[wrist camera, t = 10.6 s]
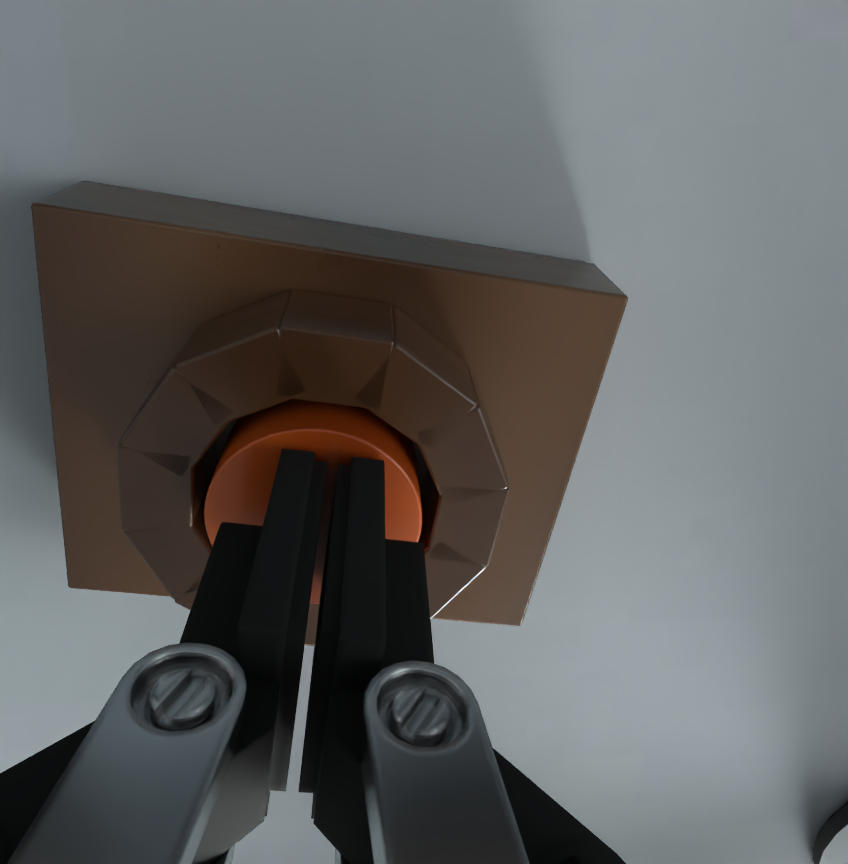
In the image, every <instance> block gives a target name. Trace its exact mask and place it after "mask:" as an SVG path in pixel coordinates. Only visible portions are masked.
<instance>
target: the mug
mask: <svg viewBox="0 0 848 864" xmlns="http://www.w3.org/2000/svg"><path fill="white" fill-rule="evenodd" d="M813 859H814V864H848V804H846V805H845V806H844V807H843V808H842V809H841V810H839V811H838V812H837V813H836V814H835V815H834V816H832V817H831V818H830V820H829V821H828V822H827V824H826V825H825V826H824V828H823V829H822V830H821V832H820V833H819V834H818V837H817V840H816V843H815V846H814V850H813Z"/></svg>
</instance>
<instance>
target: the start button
mask: <svg viewBox="0 0 848 864" xmlns="http://www.w3.org/2000/svg"><path fill="white" fill-rule="evenodd" d="M282 448H285V449H293V450H302V451H310V452H315V461H321V462H327V470H326V478H325V486H324V494H323V502H322V510H321V518H320V526H319V534H318V542H317V550H316V558H315V566H314V574H313V582H312V590H311V598H310V604H319V603H320V594H321V587H322V579H323V572H324V564H325V556H326V549H327V541H328V534H329V526H330V519H331V511H332V504H333V496H334V489H335V481H336V474H337V467H338V464H346V465H350V464H351V458H352V457H360V458H369V459H377V460H384V463H385V539H393V540H403V541H412V542H418V540H419V537H420V534H421V527H422V507H421V497H420V487H419V477H418V467H417V458H416V453H415V448H414V445H413V442H412V440H411V439H410V438H408V437H407V436H405V435H404V434H402V433H401V432H399V431H398V430H397V429H395V428H394V427H392V426H391V425H389V424H388V423H386V422H385V421H384V420H382V419H381V418H379V417H378V416H376V415H375V414H373V413H372V412H371V411H369V410H368V409H366V408H362V407H354V406H346V405H338V404H330V403H322V402H314V401H306V400H298V399H291V400H288V401H285V402H282V403H280V404H277V405H274V406H271V407H269V408H266V409H263V410H260V411H258V412H255V413H252V414H249V415H247V416H244V417H241V418H238V420H237V421H236V423H235V424H234V426H233V427H232V429H231V431H230V434H229V436H228V438H227V441H226V443H225V446H224V449H223V451H222V454H221V456H220V459H219V462H218V464H217V467H216V470H215V472H214V475H213V477H212V480H211V483H210V485H209V488H208V491H207V495H206V499H205V507H204V518H205V526H206V530H207V534H208V537H209V540H210V542H211V545H212V546H213V543H214V540H215V537H216V535H217V532H218V529H219V527H220V524H221V523H222V522H230V523H239V524H249V525H259V526H263V523H264V519H265V515H266V511H267V507H268V503H269V499H270V495H271V491H272V487H273V483H274V479H275V475H276V471H277V467H278V463H279V459H280V455H281V451H282Z"/></svg>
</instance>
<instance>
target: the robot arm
mask: <svg viewBox="0 0 848 864" xmlns="http://www.w3.org/2000/svg"><path fill="white" fill-rule="evenodd" d="M326 470H327V462H321V461H315V452H310V451H302V450H293V449H285V448H282V451H281V455H280V459H279V463H278V467H277V471H276V475H275V479H274V483H273V487H272V491H271V495H270V499H269V503H268V507H267V511H266V515H265V519H264V523H263V526H259V525H249V524H239V523H230V522H222V523H221V524H220V527H219V529H218V532H217V535H216V537H215V540H214V543H213V546H212V549H211V552H210V555H209V558H208V561H207V564H206V567H205V570H204V573H203V576H202V579H201V582H200V584H199V587H198V590H197V593H196V596H195V599H194V602H193V605H192V608H191V611H190V614H189V617H188V620H187V623H186V626H185V629H184V631H183V634H182V637H181V640H180V643H179V644H174V645H168V646H165V647H163V648H160V649H158V650H155V651H152V652H150V653H148V654H147V655H146V656H144V657H143V658H141V659H140V660H138V661H137V662H135V663H134V664H133V665H132V666H131V668H130V669H129V670H128V671H127V672H126V673H125V675H124V676H123V677H122V678H121V680H120V682H119V683H118V685H117V687H116V688H115V690H114V691H113V693H112V695H111V696H110V698H109V699H108V701H107V703H106V704H105V706H104V708H103V709H102V711H101V712H100V714H99V716H98V717H97V719H96V720H95V721H94V722H92V723H90V724H88V725H86V726H85V727H83V728H81V729H79V730H78V731H76V732H74V733H72V734H70V735H69V736H67V737H65V738H63V739H61V740H60V741H58V742H56V743H54V744H52V745H51V746H49V747H47V748H45V749H43V750H42V751H40V752H38V753H36V754H34V755H33V756H31V757H29V758H27V759H25V760H24V761H22V762H20V763H18V764H16V765H15V766H13V767H11V768H9V769H7V770H6V771H4V772H2V773H0V864H231V863H232V859H233V853H234V848H235V844H236V843H237V842H238V841H240V840H241V839H242V838H243V837H245V836H246V835H247V834H248V833H250V832H251V831H252V830H253V829H255V828H256V827H257V826H258V825H260V824H261V823H262V822H263V821H264V818H265V816H267V810H268V803H269V796H270V791H286V785H287V777H288V770H289V762H290V754H291V746H292V738H293V731H294V723H295V715H296V707H297V699H298V692H299V684H300V676H301V668H302V660H303V653H304V645H305V637H306V629H307V621H308V614H309V606H310V598H311V590H312V582H313V574H314V566H315V558H316V550H317V542H318V534H319V526H320V518H321V510H322V502H323V494H324V486H325V478H326ZM299 792H306V793H313V804H312V815H311V818H313V819H314V824H315V826H316V827H317V828H318V829H319V830H320V831H321V832H322V833H323V835H324V836H325V837H326V838H327V839H328V840H329V841H330V842H331V844H332V845H333V846H334V847H335V860H334V864H626V863H625V862H624V861H623V860H622V859H621V858H620V857H619V856H618V855H617V854H616V853H615V852H614V851H613V850H612V849H611V848H609V847H608V846H607V845H606V844H605V843H604V842H602V841H601V840H600V839H599V838H598V837H596V836H595V835H594V834H593V833H592V832H591V831H589V830H588V829H587V828H586V827H585V826H584V825H582V824H581V823H580V822H579V821H578V820H577V819H575V818H574V817H573V816H572V815H571V814H570V813H568V812H567V811H566V810H565V809H564V808H563V807H561V806H560V805H559V804H558V803H557V802H556V801H554V800H553V799H552V798H551V797H550V796H548V795H547V794H546V793H545V792H544V791H543V790H541V789H540V788H539V787H538V786H537V785H536V784H534V783H533V782H532V781H531V780H530V779H529V778H527V777H526V776H525V775H524V774H523V773H522V772H520V771H519V770H518V769H517V768H516V767H515V766H513V765H512V764H511V763H510V762H509V761H507V760H506V759H505V758H504V757H503V756H502V755H500V754H499V753H498V752H497V751H496V750H495V749H493V748H492V745H491V742H490V739H489V736H488V733H487V730H486V727H485V723H484V720H483V717H482V714H481V711H480V708H479V705H478V702H477V700H476V698H475V696H474V694H473V692H472V690H471V689H470V688H469V687H468V685H467V684H466V683H465V682H464V681H463V680H462V679H461V678H460V677H459V676H457V675H456V674H454V673H453V672H451V671H449V670H448V669H446V668H445V667H442V666H439V665H436V664H434V656H433V644H432V633H431V622H430V610H429V599H428V588H427V576H426V565H425V554H424V546H423V544H422V542H412V541H403V540H393V539H385V463H384V460H377V459H369V458H360V457H352V458H351V464H350V465H346V464H338V467H337V474H336V481H335V489H334V496H333V504H332V511H331V519H330V526H329V534H328V541H327V549H326V556H325V564H324V572H323V579H322V587H321V594H320V603H319V611H318V620H317V629H316V638H315V647H314V656H313V665H312V674H311V683H310V692H309V701H308V711H307V720H306V729H305V738H304V747H303V756H302V765H301V774H300V783H299Z"/></svg>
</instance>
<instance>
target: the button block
mask: <svg viewBox="0 0 848 864" xmlns="http://www.w3.org/2000/svg"><path fill="white" fill-rule="evenodd" d="M31 208H32V218H33V228H34V239H35V249H36V259H37V270H38V280H39V290H40V300H41V311H42V321H43V331H44V342H45V352H46V362H47V372H48V383H49V393H50V403H51V414H52V424H53V434H54V444H55V455H56V465H57V475H58V486H59V496H60V506H61V516H62V527H63V537H64V547H65V557H66V568H67V578H68V586H69V587H70V588H78V589H89V590H101V591H113V592H125V593H137V594H148V595H160V596H171V597H172V598H173V599H175V602H176V603H178V604H180V605H182V606H184V607H186V608H188V609H190V610H191V608H192V605H193V602H194V599H195V596H196V593H197V590H198V587H199V584H200V582H201V579H202V576H203V573H204V570H205V567H206V564H207V561H208V558H209V555H210V552H211V549H212V545H211V542H210V540H209V537H208V534H207V530H206V526H205V518H204V507H205V499H206V495H207V491H208V488H209V485H210V483H211V480H212V477H213V475H214V472H215V470H216V467H217V464H218V462H219V459H220V456H221V454H222V451H223V449H224V446H225V443H226V441H227V438H228V436H229V434H230V431H231V429H232V427H233V426H234V424H235V423H236V421H237V420H238V418H241V417H244V416H247V415H249V414H252V413H255V412H258V411H260V410H263V409H266V408H269V407H271V406H274V405H277V404H280V403H282V402H285V401H288V400H291V399H298V400H306V401H314V402H322V403H330V404H338V405H346V406H354V407H362V408H366V409H368V410H369V411H371V412H372V413H373V414H375V415H376V416H378V417H379V418H381V419H382V420H384V421H385V422H386V423H388V424H389V425H391V426H392V427H394V428H395V429H397V430H398V431H399V432H401V433H402V434H404V435H405V436H407V437H408V438H410V439H411V440H412V442H413V445H414V448H415V453H416V458H417V467H418V477H419V487H420V497H421V507H422V527H421V534H420V537H419V540H418V542H422V544H423V546H424V554H425V565H426V576H427V588H428V599H429V610H430V620H431V619H443V620H455V621H466V622H478V623H490V624H502V625H514V626H521V625H522V622H523V619H524V616H525V613H526V610H527V607H528V604H529V600H530V597H531V594H532V591H533V588H534V585H535V582H536V579H537V576H538V573H539V570H540V567H541V564H542V561H543V558H544V555H545V552H546V549H547V545H548V542H549V539H550V536H551V533H552V530H553V527H554V524H555V521H556V518H557V515H558V512H559V509H560V506H561V503H562V500H563V497H564V493H565V490H566V487H567V484H568V481H569V478H570V475H571V472H572V469H573V466H574V463H575V460H576V457H577V454H578V451H579V448H580V445H581V441H582V438H583V435H584V432H585V429H586V426H587V423H588V420H589V417H590V414H591V411H592V408H593V405H594V402H595V399H596V396H597V393H598V389H599V386H600V383H601V380H602V377H603V374H604V371H605V368H606V365H607V362H608V359H609V356H610V353H611V350H612V347H613V344H614V341H615V338H616V334H617V331H618V328H619V325H620V322H621V319H622V316H623V313H624V310H625V307H626V304H627V301H628V297H627V296H626V295H625V294H624V293H623V292H622V291H621V290H620V289H619V288H618V287H617V286H616V285H615V284H614V283H613V282H612V281H611V280H610V279H609V278H608V277H607V276H606V275H605V274H604V273H603V272H602V271H601V270H600V269H599V268H598V267H597V266H596V265H594V264H593V263H587V262H580V261H574V260H568V259H562V258H556V257H550V256H544V255H537V254H531V253H525V252H519V251H513V250H507V249H501V248H494V247H488V246H482V245H476V244H470V243H464V242H458V241H451V240H445V239H439V238H433V237H427V236H421V235H415V234H408V233H402V232H396V231H390V230H384V229H378V228H372V227H365V226H359V225H353V224H347V223H341V222H335V221H329V220H322V219H316V218H310V217H304V216H298V215H292V214H286V213H280V212H273V211H267V210H261V209H255V208H249V207H243V206H237V205H230V204H224V203H218V202H212V201H206V200H200V199H194V198H187V197H181V196H175V195H169V194H163V193H157V192H151V191H144V190H138V189H132V188H126V187H120V186H114V185H108V184H101V183H95V182H89V181H81V182H79V183H77V184H75V185H72V186H70V187H68V188H66V189H63V190H61V191H59V192H57V193H54V194H52V195H50V196H48V197H45V198H43V199H41V200H39V201H36V202H34V203H32V206H31ZM318 611H319V604H310V606H309V614H308V621H307V629H306V637H305V645H310V646H315V638H316V629H317V620H318Z"/></svg>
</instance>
